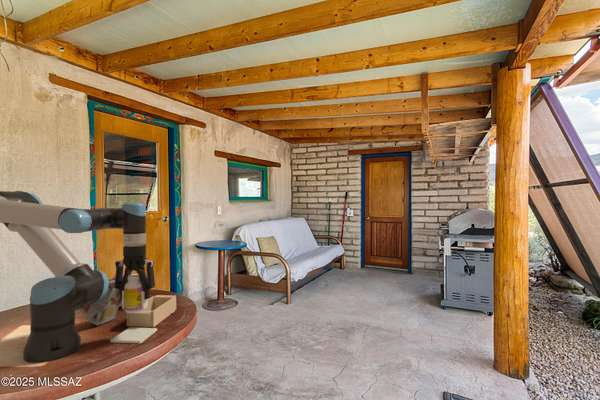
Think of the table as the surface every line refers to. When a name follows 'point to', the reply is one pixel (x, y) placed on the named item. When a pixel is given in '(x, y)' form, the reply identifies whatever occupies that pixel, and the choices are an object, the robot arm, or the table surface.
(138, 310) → the supplement bottle
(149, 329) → the plate
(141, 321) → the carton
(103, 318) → the coffee box
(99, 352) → the table surface
